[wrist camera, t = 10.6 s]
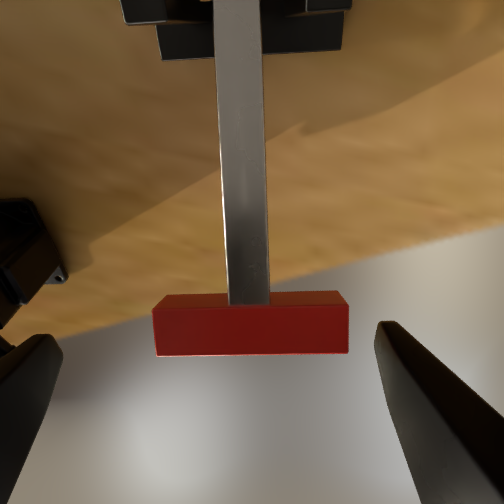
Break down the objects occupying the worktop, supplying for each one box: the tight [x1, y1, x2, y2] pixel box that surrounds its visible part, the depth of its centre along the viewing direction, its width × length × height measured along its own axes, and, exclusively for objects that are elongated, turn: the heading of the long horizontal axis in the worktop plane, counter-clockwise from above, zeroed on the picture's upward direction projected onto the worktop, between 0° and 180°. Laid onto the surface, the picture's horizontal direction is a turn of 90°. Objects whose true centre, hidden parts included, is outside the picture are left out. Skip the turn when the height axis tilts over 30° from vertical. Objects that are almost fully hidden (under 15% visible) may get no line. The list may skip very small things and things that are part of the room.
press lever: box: [152, 0, 349, 357], centre depth 8 cm, size 12×5×2 cm, turn 3°
